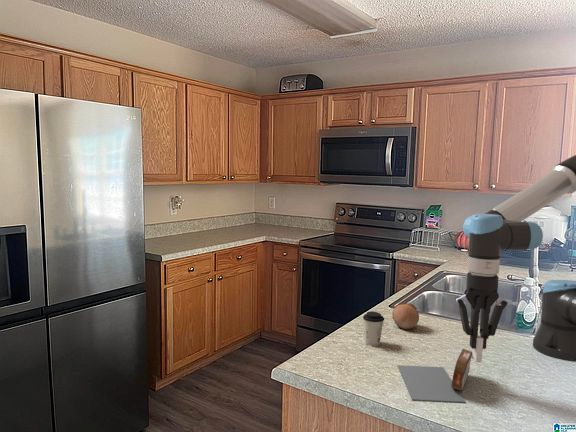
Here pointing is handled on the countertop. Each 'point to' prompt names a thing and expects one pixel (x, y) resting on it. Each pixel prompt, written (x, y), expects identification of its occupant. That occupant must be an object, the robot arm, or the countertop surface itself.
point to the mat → (429, 384)
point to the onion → (405, 316)
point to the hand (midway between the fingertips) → (476, 359)
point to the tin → (461, 369)
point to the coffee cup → (373, 327)
